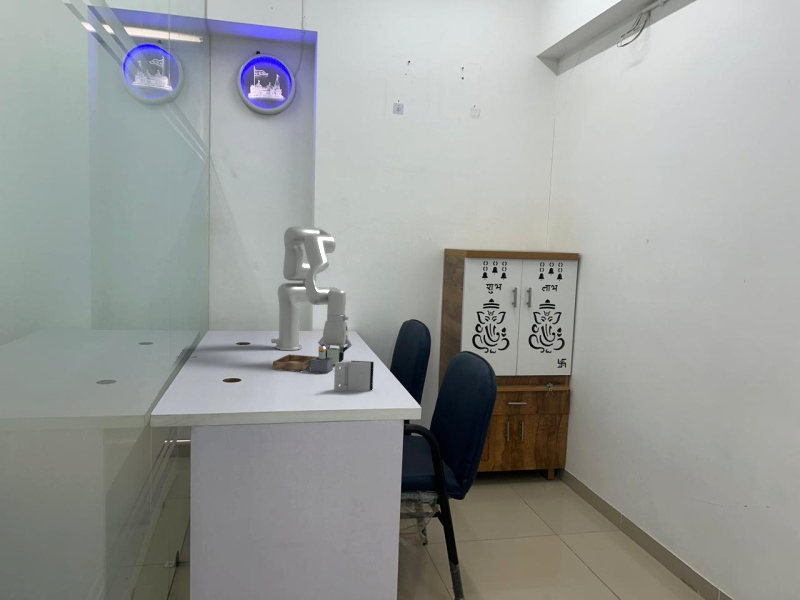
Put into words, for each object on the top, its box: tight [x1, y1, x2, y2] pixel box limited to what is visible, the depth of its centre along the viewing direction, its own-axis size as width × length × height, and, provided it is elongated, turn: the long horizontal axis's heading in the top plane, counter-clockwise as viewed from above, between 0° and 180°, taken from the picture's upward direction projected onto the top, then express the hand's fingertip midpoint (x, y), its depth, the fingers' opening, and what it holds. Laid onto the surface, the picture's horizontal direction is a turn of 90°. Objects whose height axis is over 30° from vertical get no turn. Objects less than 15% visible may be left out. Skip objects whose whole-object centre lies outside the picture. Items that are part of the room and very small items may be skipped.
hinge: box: [333, 359, 375, 392], centre depth 200 cm, size 14×5×10 cm, turn 101°
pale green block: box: [327, 347, 340, 365], centre depth 240 cm, size 5×5×6 cm
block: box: [309, 356, 334, 374], centre depth 226 cm, size 7×7×5 cm
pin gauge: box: [317, 345, 326, 360], centre depth 226 cm, size 3×3×10 cm
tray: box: [272, 354, 316, 372], centre depth 233 cm, size 13×17×3 cm
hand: (334, 360), depth 240 cm, fingers closed on pale green block, 5 cm apart
